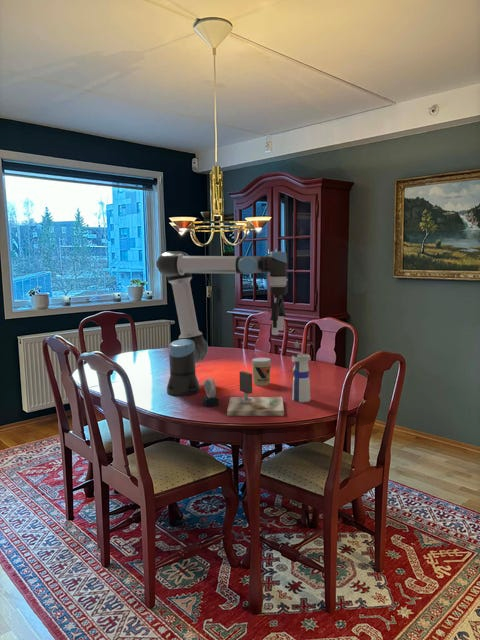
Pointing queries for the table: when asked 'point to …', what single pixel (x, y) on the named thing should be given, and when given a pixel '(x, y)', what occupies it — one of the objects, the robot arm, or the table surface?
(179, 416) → the table surface
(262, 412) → the dial board
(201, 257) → the robot arm
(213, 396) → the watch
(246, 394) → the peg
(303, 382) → the water bottle
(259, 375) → the coffee cup
